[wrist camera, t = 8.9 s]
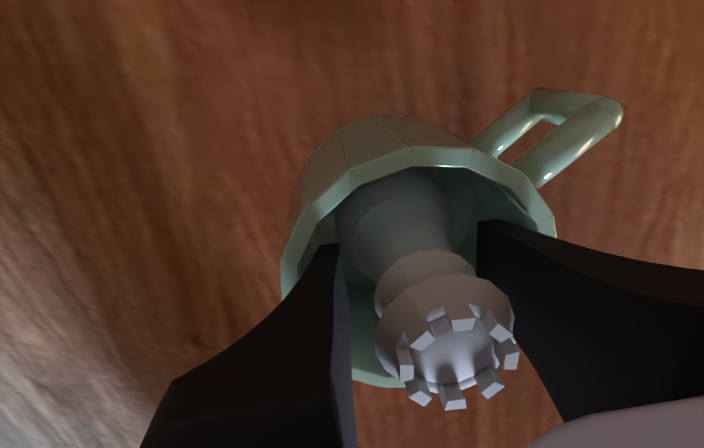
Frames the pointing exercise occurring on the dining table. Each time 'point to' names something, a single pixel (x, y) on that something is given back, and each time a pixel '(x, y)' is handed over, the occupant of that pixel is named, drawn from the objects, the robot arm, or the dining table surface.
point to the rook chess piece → (425, 290)
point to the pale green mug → (454, 179)
